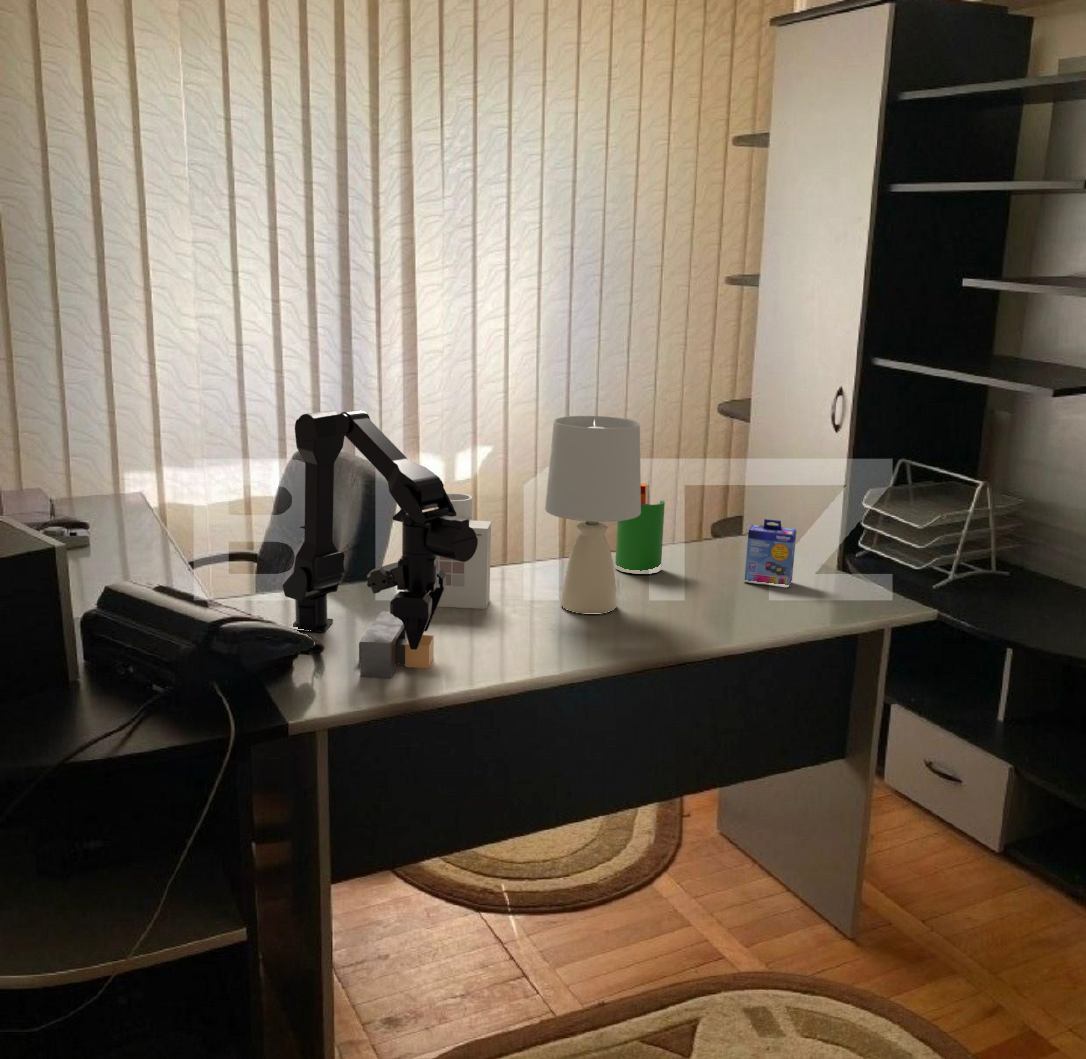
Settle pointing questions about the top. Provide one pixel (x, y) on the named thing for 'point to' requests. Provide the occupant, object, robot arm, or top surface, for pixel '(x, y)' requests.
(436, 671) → the top surface
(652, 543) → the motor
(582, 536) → the lamp
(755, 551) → the ink cartridge box
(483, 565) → the white square bottle
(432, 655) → the plug
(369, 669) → the housing
